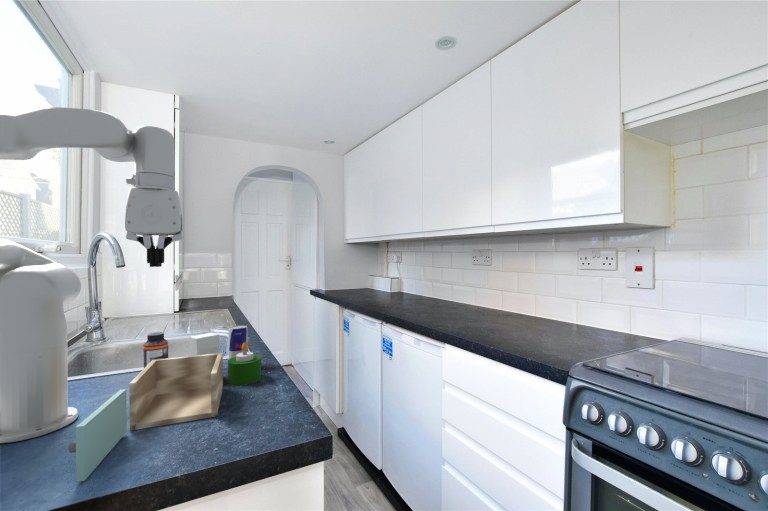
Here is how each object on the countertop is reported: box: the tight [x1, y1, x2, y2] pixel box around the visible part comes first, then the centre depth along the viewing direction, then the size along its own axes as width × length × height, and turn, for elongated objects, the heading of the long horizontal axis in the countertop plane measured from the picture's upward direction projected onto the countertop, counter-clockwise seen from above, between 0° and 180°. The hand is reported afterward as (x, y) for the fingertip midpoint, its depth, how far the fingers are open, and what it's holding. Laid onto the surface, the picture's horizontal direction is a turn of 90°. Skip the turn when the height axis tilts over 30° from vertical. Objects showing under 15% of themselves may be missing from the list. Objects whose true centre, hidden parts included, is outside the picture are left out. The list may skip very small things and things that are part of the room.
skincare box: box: [189, 332, 221, 356], centre depth 92 cm, size 6×4×12 cm
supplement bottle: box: [142, 331, 169, 369], centre depth 98 cm, size 6×6×11 cm
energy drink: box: [227, 324, 249, 360], centre depth 102 cm, size 5×5×12 cm
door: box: [68, 388, 128, 483], centre depth 56 cm, size 14×2×8 cm, turn 17°
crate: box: [128, 352, 224, 431], centre depth 75 cm, size 15×16×9 cm
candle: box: [227, 343, 262, 386], centre depth 92 cm, size 8×8×10 cm
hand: (155, 266), depth 76 cm, fingers closed
